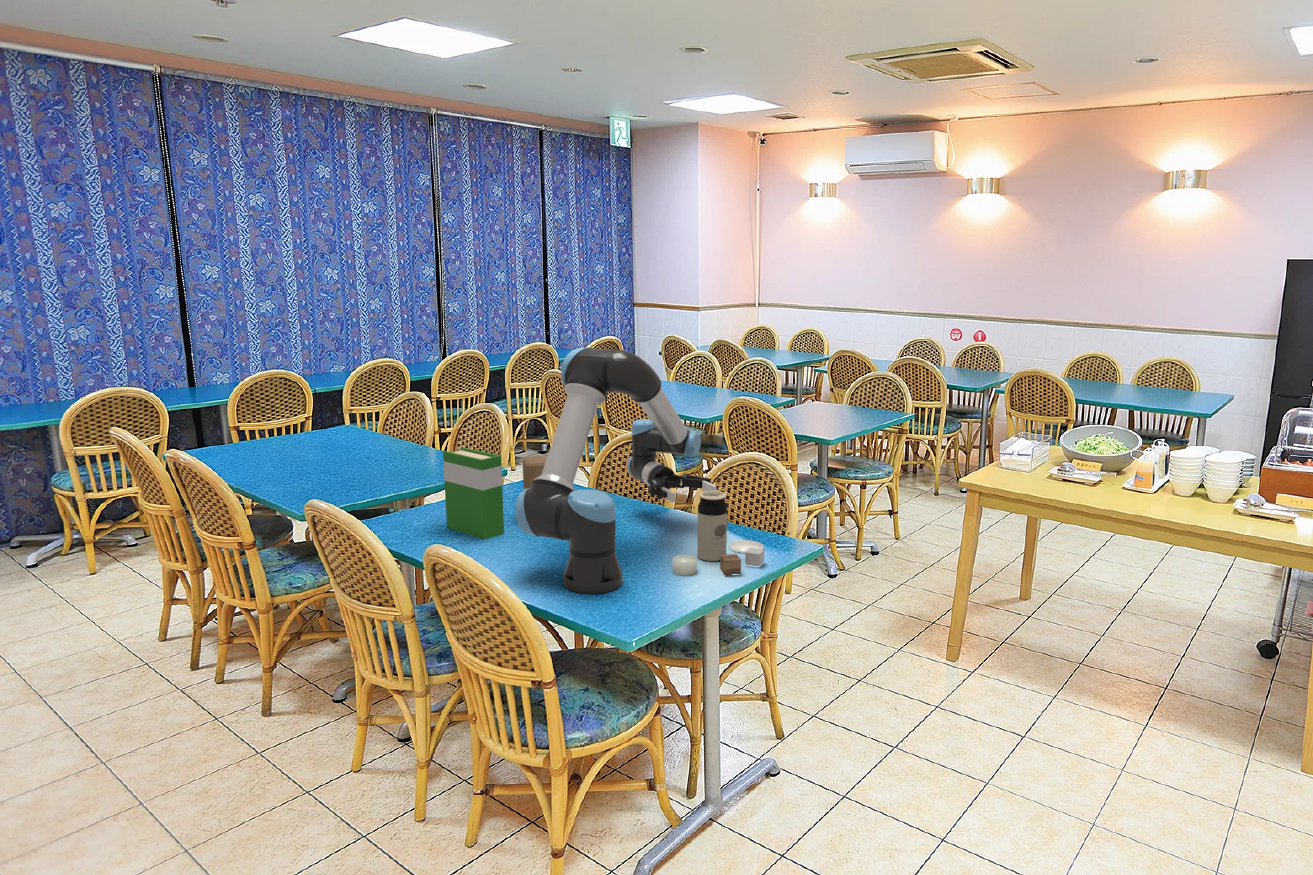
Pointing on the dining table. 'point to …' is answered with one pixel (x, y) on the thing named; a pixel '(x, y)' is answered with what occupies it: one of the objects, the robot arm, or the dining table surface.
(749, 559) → the grey cube
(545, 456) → the block
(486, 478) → the hardback book
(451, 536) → the dining table surface
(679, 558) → the beige rounded cylinder
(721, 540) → the travel mug
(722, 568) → the walnut block
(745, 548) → the saucer
